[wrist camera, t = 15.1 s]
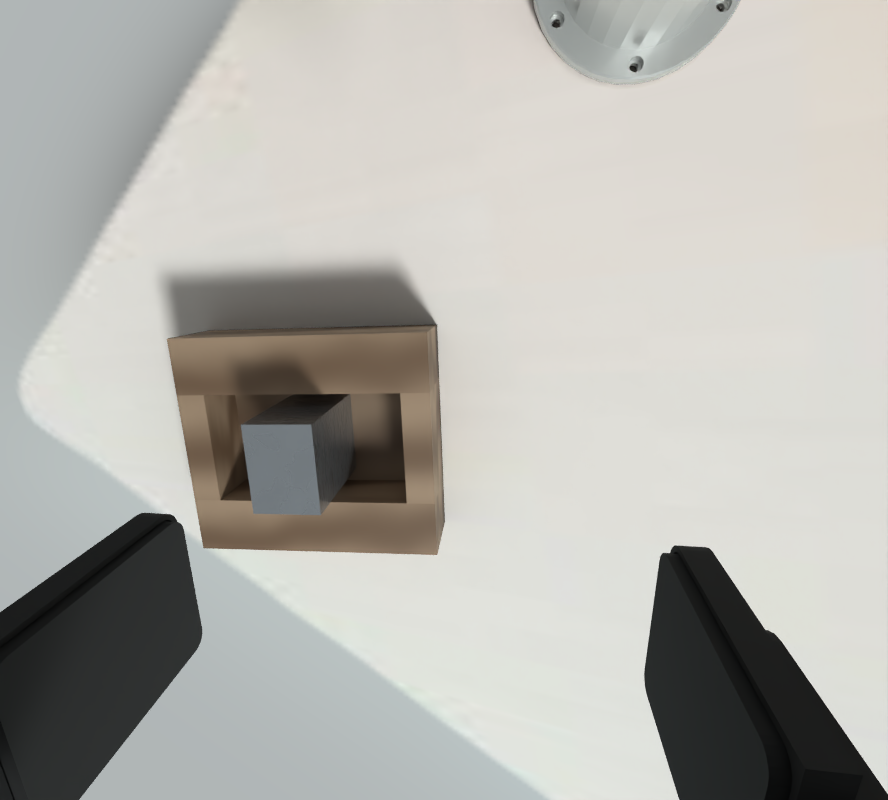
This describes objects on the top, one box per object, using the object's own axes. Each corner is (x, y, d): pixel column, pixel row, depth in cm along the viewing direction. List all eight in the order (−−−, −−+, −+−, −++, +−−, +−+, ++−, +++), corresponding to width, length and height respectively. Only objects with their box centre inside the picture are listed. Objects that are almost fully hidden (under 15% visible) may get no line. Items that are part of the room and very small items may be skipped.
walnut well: (208, 330, 38) (167, 338, 34) (436, 324, 36) (427, 332, 31) (237, 516, 42) (203, 548, 37) (444, 521, 40) (437, 554, 35)
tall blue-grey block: (293, 394, 38) (240, 424, 30) (350, 393, 37) (311, 424, 30) (301, 466, 39) (253, 513, 32) (356, 467, 39) (320, 515, 31)
